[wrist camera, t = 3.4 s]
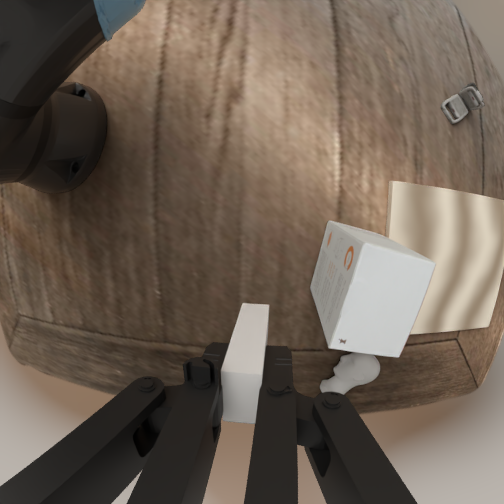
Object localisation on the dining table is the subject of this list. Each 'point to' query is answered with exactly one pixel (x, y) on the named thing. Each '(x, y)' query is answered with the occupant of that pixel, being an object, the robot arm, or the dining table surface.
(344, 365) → the smooth white sculpture
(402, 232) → the birch board
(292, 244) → the dining table surface
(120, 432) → the robot arm
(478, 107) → the strap clip
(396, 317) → the small box
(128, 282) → the dining table surface
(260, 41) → the dining table surface
